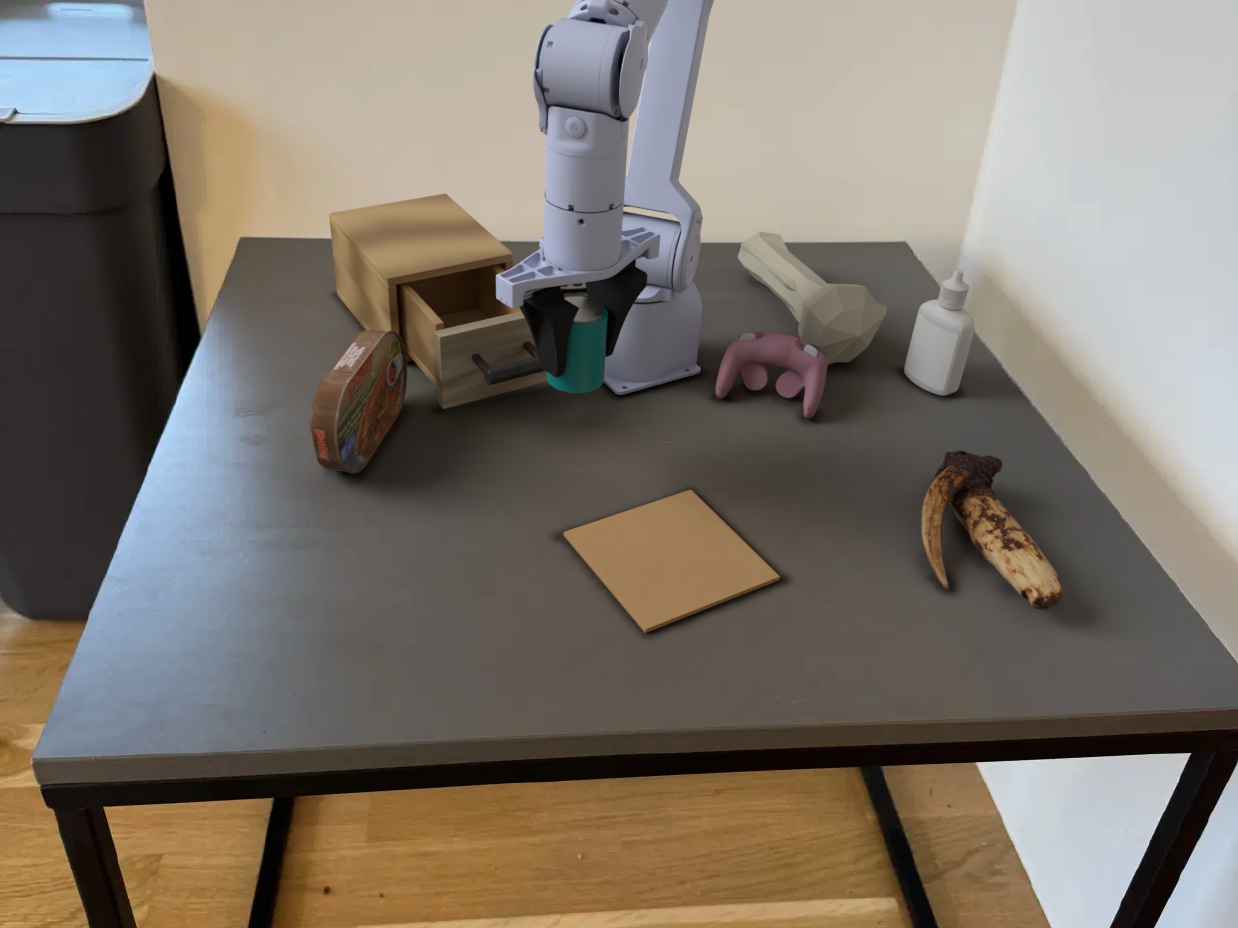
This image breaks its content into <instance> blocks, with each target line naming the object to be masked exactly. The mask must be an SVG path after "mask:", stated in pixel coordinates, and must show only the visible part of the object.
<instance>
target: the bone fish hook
mask: <svg viewBox="0 0 1238 928" xmlns="http://www.w3.org/2000/svg"><path fill="white" fill-rule="evenodd" d="M1002 468H1003V461H1002V460H1001V459H1000V458H999V457H996V456H994V455H988V454H987V455H981V456H980V455H978V454H974V453H970V452H967V451H965V450H961V449H959V450H955V451H945V453H944V457H943V461H942V463H941V465H939V467H938V469H937V471H936V472H935V475H934V478H935V479H934V480H933V481H932V482H931V484H930V485H929V487H928V488H927V490H926V493H925V496H924V498H923V502H922V507H921V515H920V536H921V542H922V547H923V551H924V554H925V557H926V560H927V563H928V565H929V567H930V570H931V571H932V573H933V575H934V577H935V579H936V580H937V582H938V583H939V584H940V585H941V587H942V588H943V589H945V590H950V584H949V580H948V576H947V571H946V567H945V562H944V561H945V560H944V554H943V539H942V538H943V526H944V518H945V513H946V510H947V508H948V505H950V506H951V507H952V510H953V513H954V516H955V518H956V520H957V521H959V522H960V524H961V525H962V527H963V528H964V529H965V531H966V532H967V534H968V535H969V536H970V540H971V541H972V543H973V544H974V545H975V547H976V548H977V550H978V551H979V552H980V554H981V555H982V557H983V559H984V560H985V561H986V562H988V563H989V564H990V565H992V566H993V567H994V568H995V569H996V570H997V571H998V572H999V574H1000V575H1001V576H1002V579H1003V580H1005V581H1006V582H1007V583H1009V584H1010V586H1012V588H1013V589H1014V590H1015V591H1016V592H1017V593H1018V594H1019V595H1020V596H1021V598H1023V599H1024V600H1026V601H1027V600H1028V602H1029V605H1030V607H1031V608H1033V609H1035V610H1048V609H1051V608H1055V607H1056V606H1057V605H1058V604H1059V602H1060V600H1061V598H1062V595H1063V588H1062V584H1061V581H1060V578H1059V576H1058V573H1057V572H1056V570H1055V569H1054V567H1053V565H1052V564H1051V562H1050V561H1049V560H1048V558H1046V556H1045V555H1044V553H1043V552H1042V550H1041V548H1040V547H1039V545H1038V544H1037V543H1036V542H1035V541H1034V540H1033V539H1032V536H1031V535H1030V534H1029V533H1028V532H1026V531H1025V530H1024V528H1023V527H1022V526H1021V525H1020V524H1019V523H1018V521H1017V520H1016V519H1015V517H1013V516H1012V515H1011V513H1010V511H1009V510H1008V509H1007V508H1006V507H1005V506H1004V505H1003V504H1002V503H1001V501H1000V500H999V498H997V496H996V492H995V491H994V489H993V487H992V486H993V483H994V477H995V476H997V474H998V473H1000V472H1001V471H1002Z"/></svg>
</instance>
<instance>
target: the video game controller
mask: <svg viewBox="0 0 1238 928" xmlns="http://www.w3.org/2000/svg"><path fill="white" fill-rule="evenodd" d="M766 365H774V366H778V367H781V368H784V369H786V370H787V371H785V372H784V373H782V374H780V376H778V379H777V380H776V383H775V389H776V392H777V394H779V396H781V397H783V398H785V399H792V398H794V397H796V396H797V395H799V393H800V392H801V391H802V390H803V389H804V395H803V403H802V404H803V417H804V418H805V419H807V420H810V419H811V418H813V417H814V416H815V414H816V412H817V410H818V408H819V405H820V403H821V400H822V396H823V393H824V389H825V386H826V385H825V384H826V380H827V379H826V378H827V371H828V366H829V365H828V364H827V360H826V358H825V356H824V355H823V354H822V353H821V352H820V351H819V350H817V349H815V348H814V347H813V346H811V345H810V344H808V343H806V342H804V341H802V340H801V339H800V338H798V337H795V336H792V335H789V334H786V333H780V332H773V331H756V332H755V331H749V332H745V333H743V334H741V335H737V336H736V337H735V338H734V339H732V340H731V342H730V343H729V344H728V346H727V348H726V350H725V352H724V354H723V356H722V359H721V362H720V366H719V369H718V374H717V378H716V383H715V396H716V397H717V398H718V399H721V400H722V399H723V398H725V397H726V396H727V395H728V394H729V392H730V391H731V389H732V387H733V386H734V383H735V382H736V380H737V377H738V374H740V375H741V376H742V379H743V383H744V385H745V387H746V388H747V389H749V390H751V391H759V390H762V389H764V388H765V387H766V386H767V385H768V383H769V372H768V370H767V368H766Z"/></svg>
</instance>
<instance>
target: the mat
mask: <svg viewBox="0 0 1238 928" xmlns="http://www.w3.org/2000/svg"><path fill="white" fill-rule="evenodd" d="M563 537H564V538H565V539H566V540H567V541H568V543H569V544H570V545H571V546H572V547H573V549H574V550H575V551H576V552H577V553H578V554H579V556H580V557H581V558H582V559H583V561H584V562H585V563H586V564H587V566H589V568H590V569H591V570H592V571H593V572H594V574H595V575H596V576H597V577H598V579H599V580H600V581H601V582H602V583H603V584H604V586H605V587H606V588H607V589H608V591H609V592H610V593H611V594H612V595H613V596H614V598H615V599H616V600H617V601H618V602H619V604H620V605H621V606H622V607H623V608H624V610H625V611H626V612H627V613H628V614H629V616H630V617H631V618H632V619H633V620H634V622H635V623H636V624H637V625H638V626H639V628H640V629H641V630H642V631H643V633H645V634H647V633H649V632H652V631H654V630H657V629H660V628H662V627H665V626H667V625H670V624H673V623H675V622H677V621H680V620H682V619H685V618H687V617H690V616H692V615H695V614H697V613H701V612H702V611H704V610H707V609H710V608H713V607H715V606H717V605H720V604H722V603H726V602H728V601H730V600H733V599H735V598H738V597H741V596H743V595H746V594H748V593H750V592H753V591H756V590H758V589H760V588H763V587H765V586H768V585H771V584H774V583H776V582H778V581H780V578H781V576H780V575H779V574H778V573H777V572H776V571H775V570H774V568H772V567H771V566H770V565H769V564H768V563H767V562H766V561H765V560H764V559H763V558H762V557H761V556H759V554H758V553H757V552H755V550H754V549H753V548H752V547H751V546H749V545H748V543H746V542H745V540H743V538H741V536H739V535H738V534H737V533H736V531H734V530H733V529H732V528H731V527H730V526H729V525H728V524H727V523H726V522H725V521H724V520H723V519H722V518H721V517H720V516H719V515H718V514H717V513H716V512H715V511H714V510H713V509H712V508H711V507H710V506H709V505H708V504H706V502H705V501H704V500H702V499H701V498H700V497H699V495H697V494H696V493H695V492H694V491H693V490H692V489H688V490H685V491H682V492H679V493H676V494H673V495H670V496H667V497H663V498H661V499H658V500H655V501H652V502H650V503H646V504H644V505H643V504H642V505H640V506H637V507H634V508H631V509H629V510H626V511H622V512H619V513H616V514H613V515H610V516H607V517H604V518H601V519H598V520H595V521H593V522H589V523H586V524H583V525H581V526H577V527H574V528H572V529H569V530H565V531H563Z"/></svg>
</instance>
